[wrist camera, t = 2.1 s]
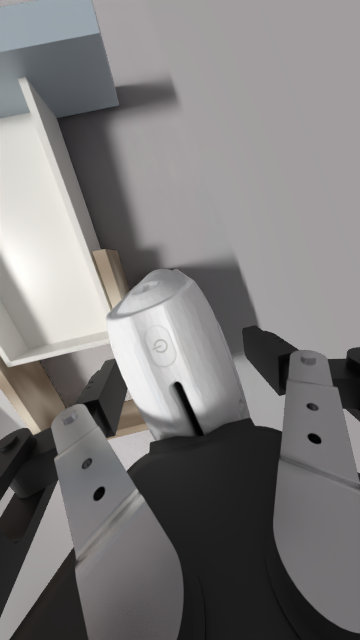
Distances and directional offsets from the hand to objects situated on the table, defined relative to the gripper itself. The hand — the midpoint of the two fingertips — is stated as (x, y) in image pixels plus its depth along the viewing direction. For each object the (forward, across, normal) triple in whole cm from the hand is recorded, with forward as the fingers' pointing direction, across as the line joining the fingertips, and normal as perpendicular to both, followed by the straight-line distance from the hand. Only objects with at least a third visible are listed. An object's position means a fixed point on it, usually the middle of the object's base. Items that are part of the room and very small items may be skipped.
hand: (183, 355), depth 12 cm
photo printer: (+6, 0, 0) cm, 6 cm away
